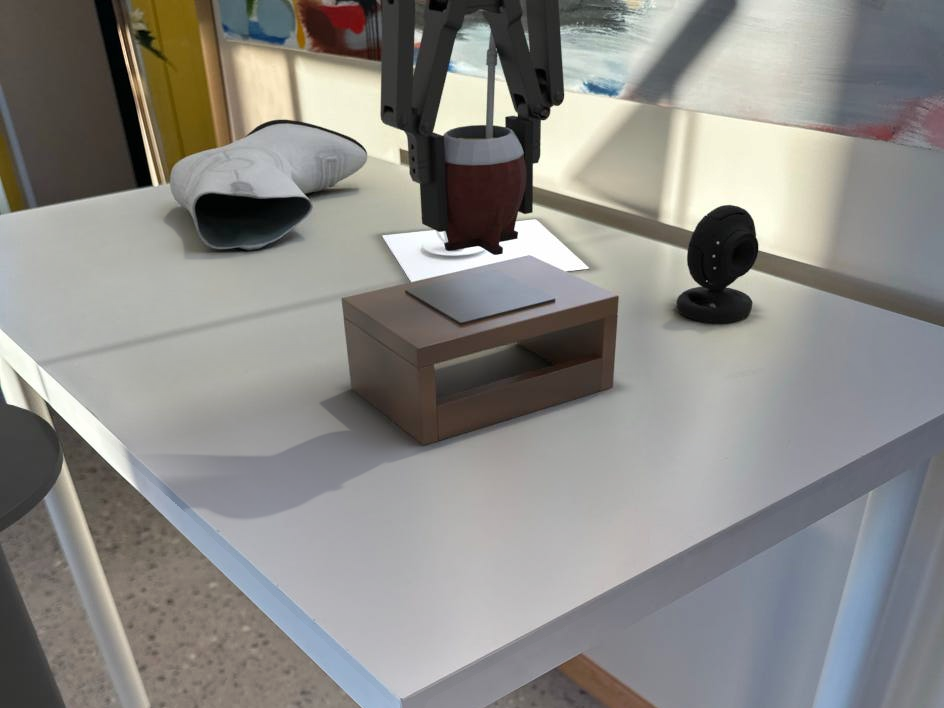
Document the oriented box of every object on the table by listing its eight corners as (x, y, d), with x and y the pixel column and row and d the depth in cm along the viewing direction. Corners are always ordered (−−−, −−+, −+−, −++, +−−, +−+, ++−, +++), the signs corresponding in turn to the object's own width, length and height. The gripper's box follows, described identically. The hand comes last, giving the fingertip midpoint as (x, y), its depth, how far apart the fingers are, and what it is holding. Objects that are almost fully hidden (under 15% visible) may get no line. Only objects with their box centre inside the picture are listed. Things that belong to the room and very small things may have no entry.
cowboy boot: (155, 141, 128) (173, 189, 109) (356, 103, 133) (405, 144, 115) (177, 215, 134) (197, 273, 116) (368, 177, 139) (416, 226, 121)
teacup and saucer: (486, 234, 119) (485, 199, 116) (503, 254, 113) (503, 217, 110) (416, 242, 117) (413, 206, 115) (430, 262, 111) (428, 225, 109)
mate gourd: (460, 263, 73) (450, 31, 64) (419, 235, 79) (405, 18, 69) (546, 247, 76) (550, 21, 66) (501, 221, 81) (498, 9, 72)
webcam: (709, 330, 94) (723, 222, 87) (659, 307, 99) (669, 203, 92) (768, 313, 97) (786, 207, 90) (716, 292, 102) (730, 190, 95)
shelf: (351, 388, 85) (340, 295, 80) (528, 339, 93) (529, 252, 88) (423, 445, 77) (416, 345, 72) (613, 387, 84) (619, 292, 79)
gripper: (353, -160, 55) (387, 254, 69) (629, -166, 63) (608, 207, 77) (299, -157, 60) (341, 229, 74) (561, -163, 68) (554, 187, 82)
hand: (477, 217), depth 76 cm, fingers closed on mate gourd, 7 cm apart
